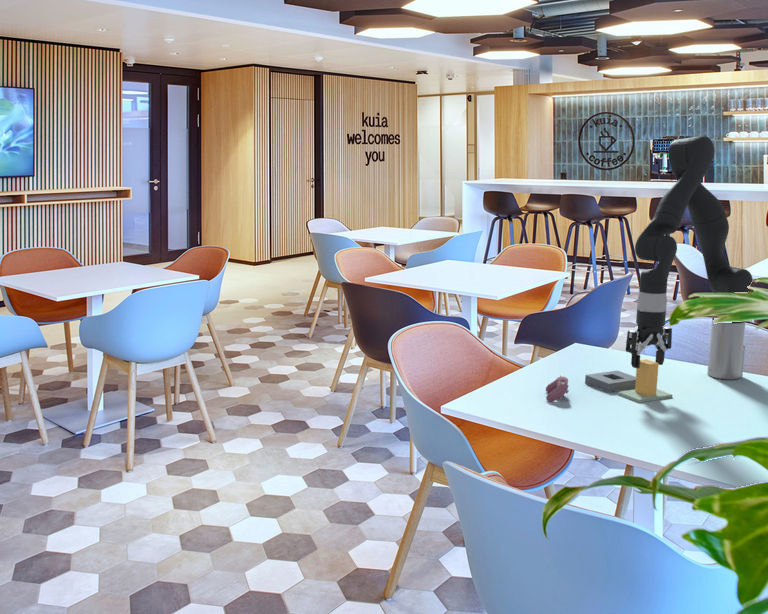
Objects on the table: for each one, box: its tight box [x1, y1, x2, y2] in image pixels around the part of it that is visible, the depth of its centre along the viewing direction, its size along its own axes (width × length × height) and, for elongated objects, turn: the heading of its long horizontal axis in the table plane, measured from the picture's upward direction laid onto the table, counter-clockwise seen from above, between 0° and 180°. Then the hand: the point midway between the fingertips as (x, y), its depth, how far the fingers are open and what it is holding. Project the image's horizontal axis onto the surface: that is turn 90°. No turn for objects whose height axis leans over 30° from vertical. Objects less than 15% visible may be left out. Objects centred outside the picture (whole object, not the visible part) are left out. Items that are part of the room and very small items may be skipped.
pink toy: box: [545, 375, 570, 402], centre depth 216 cm, size 10×5×7 cm, turn 169°
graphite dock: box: [584, 370, 636, 393], centre depth 228 cm, size 12×10×2 cm
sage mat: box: [618, 388, 673, 404], centre depth 218 cm, size 12×8×1 cm, turn 115°
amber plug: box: [634, 359, 659, 396], centre depth 217 cm, size 3×5×9 cm
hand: (647, 366), depth 216 cm, fingers open, 8 cm apart
